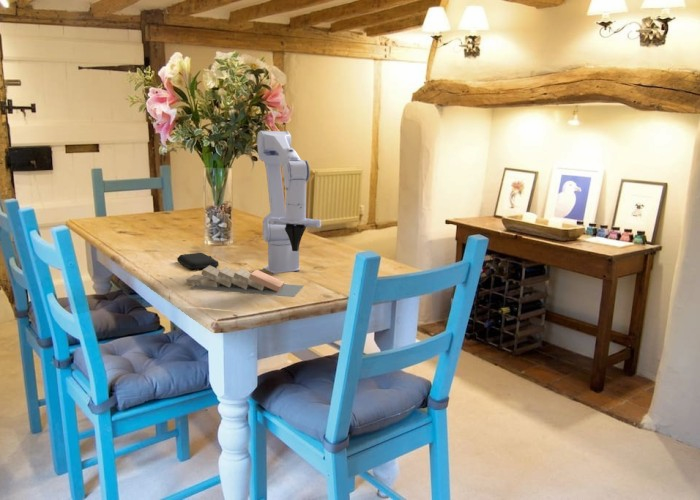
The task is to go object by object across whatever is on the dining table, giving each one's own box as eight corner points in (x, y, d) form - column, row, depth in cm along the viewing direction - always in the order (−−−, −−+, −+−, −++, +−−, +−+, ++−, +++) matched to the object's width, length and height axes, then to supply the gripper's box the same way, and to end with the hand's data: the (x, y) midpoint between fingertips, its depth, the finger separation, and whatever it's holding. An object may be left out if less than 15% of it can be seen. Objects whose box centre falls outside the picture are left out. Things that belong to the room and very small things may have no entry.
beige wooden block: (216, 287, 165) (186, 284, 166) (223, 282, 170) (194, 279, 171) (216, 281, 165) (186, 279, 166) (223, 276, 169) (194, 274, 171)
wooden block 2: (262, 290, 163) (233, 277, 163) (267, 285, 168) (239, 273, 168) (264, 285, 162) (234, 272, 163) (269, 280, 167) (241, 268, 168)
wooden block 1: (245, 289, 163) (217, 276, 164) (251, 284, 168) (224, 271, 169) (247, 284, 163) (219, 271, 164) (253, 279, 168) (225, 266, 168)
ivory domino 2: (229, 287, 164) (201, 274, 165) (235, 282, 169) (208, 270, 170) (231, 282, 164) (202, 269, 164) (237, 277, 169) (209, 265, 169)
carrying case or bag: (224, 269, 186) (206, 259, 198) (223, 259, 186) (206, 250, 197) (191, 273, 180) (175, 263, 192) (191, 264, 180) (175, 254, 191)
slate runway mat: (190, 289, 163) (190, 288, 163) (206, 278, 174) (206, 277, 174) (293, 297, 158) (294, 296, 158) (304, 286, 169) (304, 285, 169)
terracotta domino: (277, 292, 162) (248, 278, 163) (282, 287, 167) (254, 274, 167) (279, 287, 162) (250, 273, 162) (284, 282, 166) (256, 269, 167)
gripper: (266, 204, 162) (266, 251, 165) (317, 207, 160) (316, 255, 163) (274, 200, 169) (274, 246, 172) (323, 203, 166) (322, 249, 170)
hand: (295, 250), depth 168 cm, fingers closed
